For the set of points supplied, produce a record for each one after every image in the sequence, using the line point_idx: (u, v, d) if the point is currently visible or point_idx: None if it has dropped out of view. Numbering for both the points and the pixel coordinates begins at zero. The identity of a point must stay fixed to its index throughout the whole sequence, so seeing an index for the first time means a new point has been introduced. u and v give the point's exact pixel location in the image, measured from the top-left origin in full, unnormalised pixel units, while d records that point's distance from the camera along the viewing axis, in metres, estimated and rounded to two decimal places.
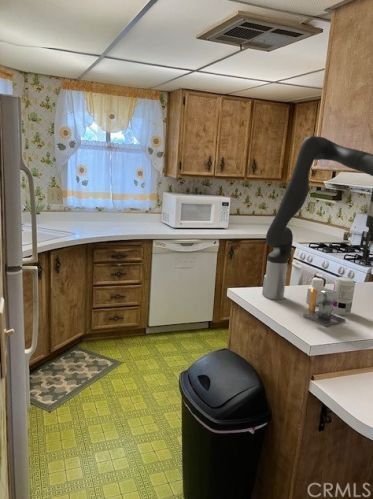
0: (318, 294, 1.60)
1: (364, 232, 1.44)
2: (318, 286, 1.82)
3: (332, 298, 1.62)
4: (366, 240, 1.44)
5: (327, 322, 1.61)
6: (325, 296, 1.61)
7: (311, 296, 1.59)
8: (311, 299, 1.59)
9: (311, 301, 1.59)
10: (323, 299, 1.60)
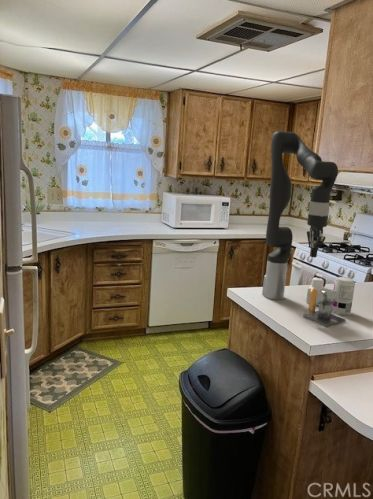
0: (318, 294, 1.60)
1: (321, 238, 1.54)
2: (318, 286, 1.82)
3: (332, 298, 1.62)
4: (322, 243, 1.56)
5: (327, 322, 1.61)
6: (325, 296, 1.61)
7: (311, 296, 1.59)
8: (311, 299, 1.59)
9: (311, 301, 1.59)
10: (323, 299, 1.60)
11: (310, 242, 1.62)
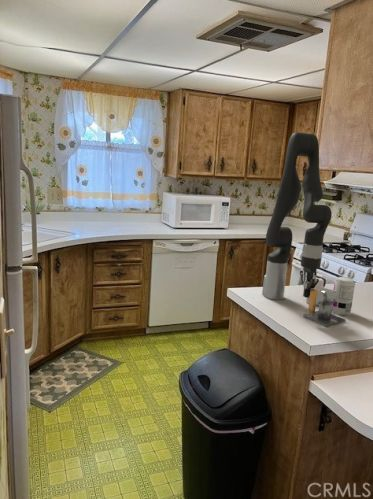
0: (318, 294, 1.60)
1: (314, 280, 1.56)
2: (318, 286, 1.82)
3: (332, 298, 1.62)
4: (315, 285, 1.58)
5: (327, 322, 1.61)
6: (325, 296, 1.61)
7: (311, 296, 1.59)
8: (311, 299, 1.59)
9: (311, 301, 1.59)
10: (323, 299, 1.60)
11: (303, 282, 1.64)
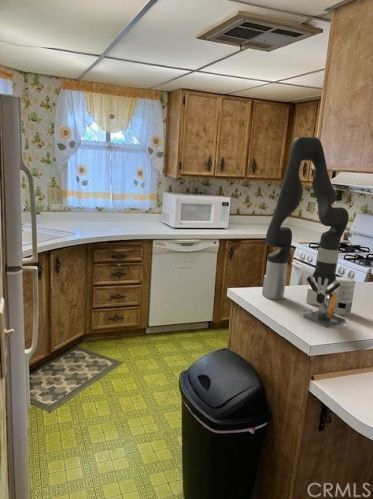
0: None
1: (339, 285, 1.53)
2: None
3: None
4: None
5: (327, 322, 1.61)
6: None
7: (333, 301, 1.55)
8: (333, 304, 1.55)
9: (333, 306, 1.55)
10: None
11: (317, 289, 1.56)
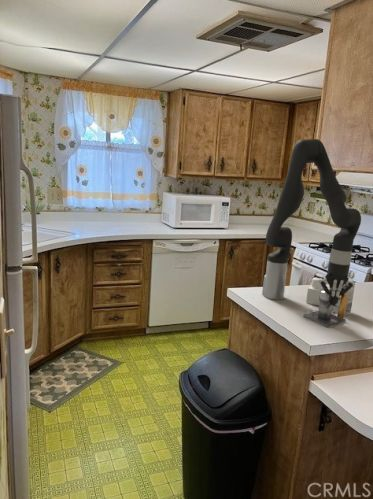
0: None
1: None
2: (318, 286, 1.82)
3: None
4: None
5: (327, 322, 1.61)
6: None
7: (345, 301, 1.55)
8: (345, 304, 1.56)
9: (345, 306, 1.56)
10: None
11: (332, 291, 1.54)
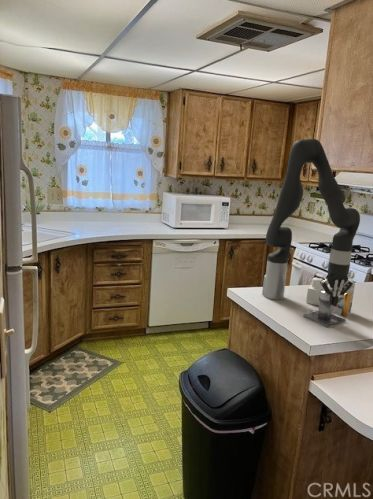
0: None
1: None
2: (318, 286, 1.82)
3: None
4: None
5: (327, 322, 1.61)
6: None
7: (349, 300, 1.56)
8: (349, 303, 1.57)
9: (349, 305, 1.57)
10: None
11: (333, 292, 1.53)
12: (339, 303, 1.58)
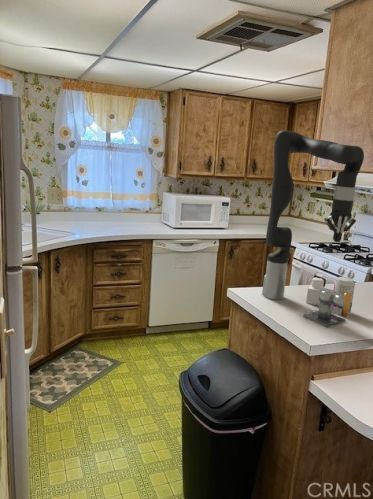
0: None
1: None
2: (318, 286, 1.82)
3: None
4: None
5: (327, 322, 1.61)
6: None
7: (349, 300, 1.56)
8: (349, 303, 1.57)
9: (349, 305, 1.57)
10: None
11: (337, 228, 1.60)
12: (339, 303, 1.58)
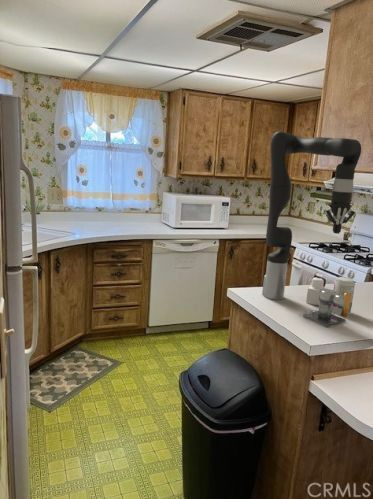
0: None
1: None
2: (318, 286, 1.82)
3: None
4: None
5: (327, 322, 1.61)
6: None
7: (349, 300, 1.56)
8: (349, 303, 1.57)
9: (349, 305, 1.57)
10: None
11: (336, 220, 1.63)
12: (339, 303, 1.58)
